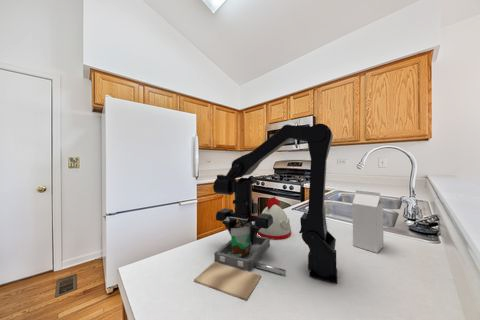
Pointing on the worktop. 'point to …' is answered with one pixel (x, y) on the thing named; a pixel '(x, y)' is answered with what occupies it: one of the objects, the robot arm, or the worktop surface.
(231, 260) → the case
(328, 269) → the robot arm
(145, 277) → the worktop surface
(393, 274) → the worktop surface
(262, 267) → the rod
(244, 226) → the food container
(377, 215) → the milk carton
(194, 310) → the worktop surface
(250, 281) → the pad
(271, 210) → the white knit beanie
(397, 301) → the worktop surface
